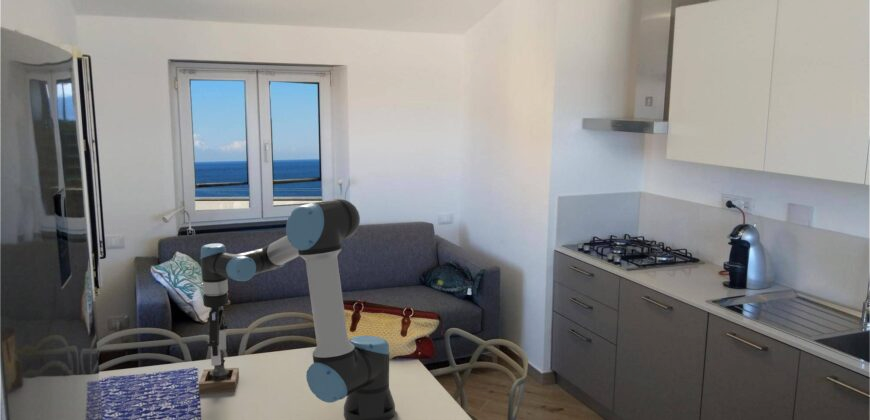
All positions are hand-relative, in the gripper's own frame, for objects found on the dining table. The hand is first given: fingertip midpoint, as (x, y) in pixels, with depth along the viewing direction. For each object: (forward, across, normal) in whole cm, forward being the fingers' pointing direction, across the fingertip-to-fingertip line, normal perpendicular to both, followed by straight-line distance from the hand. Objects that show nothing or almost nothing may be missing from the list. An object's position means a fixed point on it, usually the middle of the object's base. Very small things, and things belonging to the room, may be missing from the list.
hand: (219, 356), depth 211 cm
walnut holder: (+10, 0, 0) cm, 10 cm away
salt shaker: (+9, 0, 0) cm, 9 cm away
